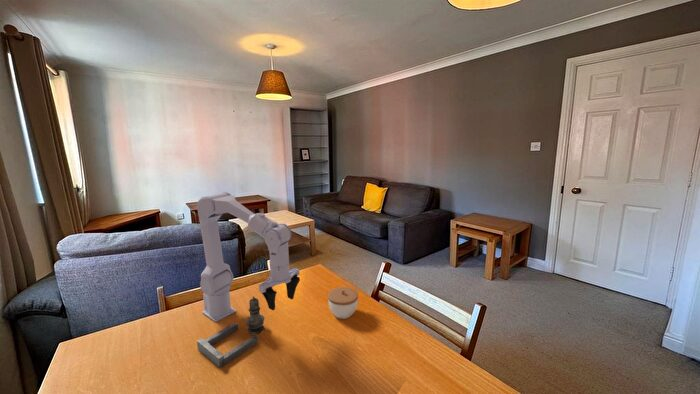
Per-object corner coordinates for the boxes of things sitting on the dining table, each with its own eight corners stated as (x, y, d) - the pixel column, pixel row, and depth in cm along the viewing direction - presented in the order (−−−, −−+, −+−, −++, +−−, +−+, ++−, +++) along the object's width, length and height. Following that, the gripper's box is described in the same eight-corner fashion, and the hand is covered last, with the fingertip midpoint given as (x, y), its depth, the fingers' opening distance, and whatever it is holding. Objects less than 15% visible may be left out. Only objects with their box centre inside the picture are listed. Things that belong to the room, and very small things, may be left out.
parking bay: (197, 349, 85) (196, 340, 85) (235, 327, 95) (235, 319, 95) (219, 368, 78) (218, 358, 78) (258, 342, 88) (257, 334, 88)
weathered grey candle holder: (259, 336, 91) (257, 302, 89) (242, 333, 92) (240, 300, 90) (268, 324, 97) (266, 292, 94) (252, 322, 98) (250, 290, 95)
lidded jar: (358, 306, 108) (359, 283, 106) (356, 324, 97) (356, 299, 95) (330, 304, 109) (330, 281, 107) (325, 322, 98) (325, 297, 97)
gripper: (268, 276, 81) (270, 319, 83) (305, 259, 92) (306, 297, 95) (253, 269, 85) (256, 310, 87) (290, 254, 96) (292, 290, 99)
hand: (281, 303), depth 91 cm, fingers open, 7 cm apart
